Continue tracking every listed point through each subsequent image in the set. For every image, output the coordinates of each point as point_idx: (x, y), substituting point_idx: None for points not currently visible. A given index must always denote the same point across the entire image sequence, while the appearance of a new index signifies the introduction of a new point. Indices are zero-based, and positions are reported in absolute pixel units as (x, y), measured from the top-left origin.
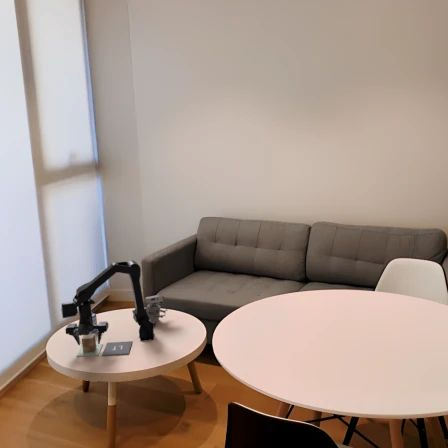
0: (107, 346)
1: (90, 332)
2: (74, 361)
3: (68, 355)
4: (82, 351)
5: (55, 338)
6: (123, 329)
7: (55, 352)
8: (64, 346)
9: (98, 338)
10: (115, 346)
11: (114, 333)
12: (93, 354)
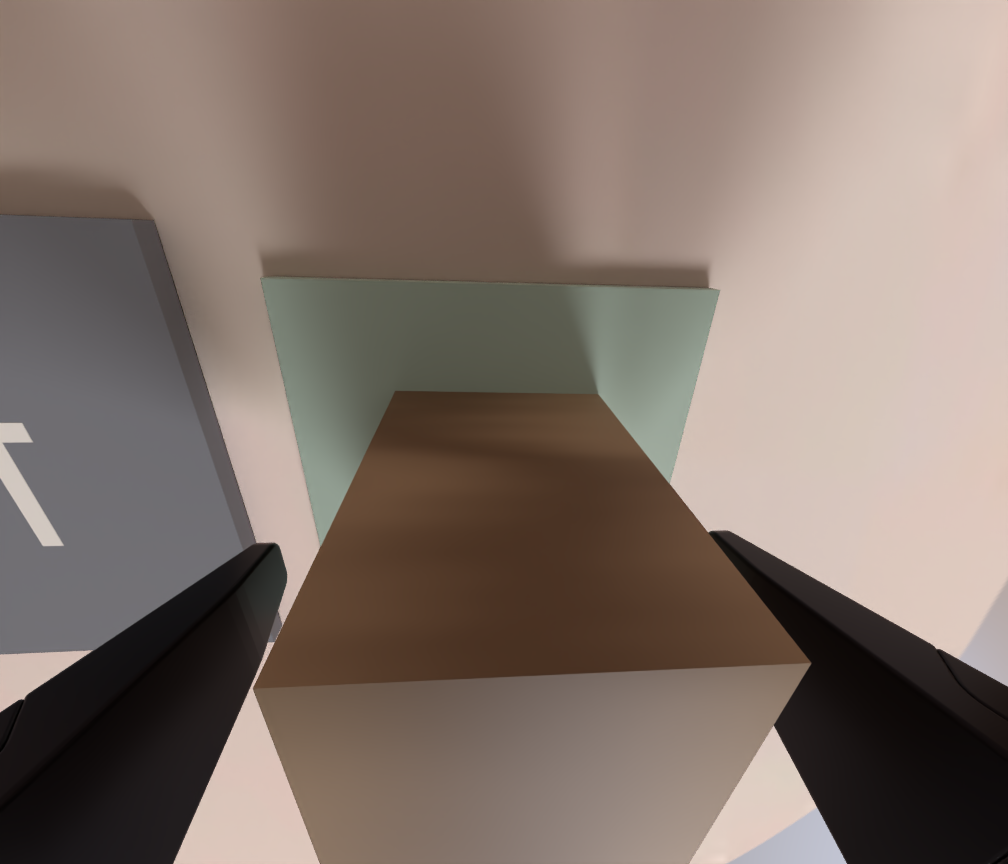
0: (206, 547)
1: None
2: (763, 34)
3: (841, 354)
4: None
5: None
6: (231, 837)
7: (997, 471)
8: None
9: (101, 694)
10: (42, 536)
11: None
12: (373, 293)
